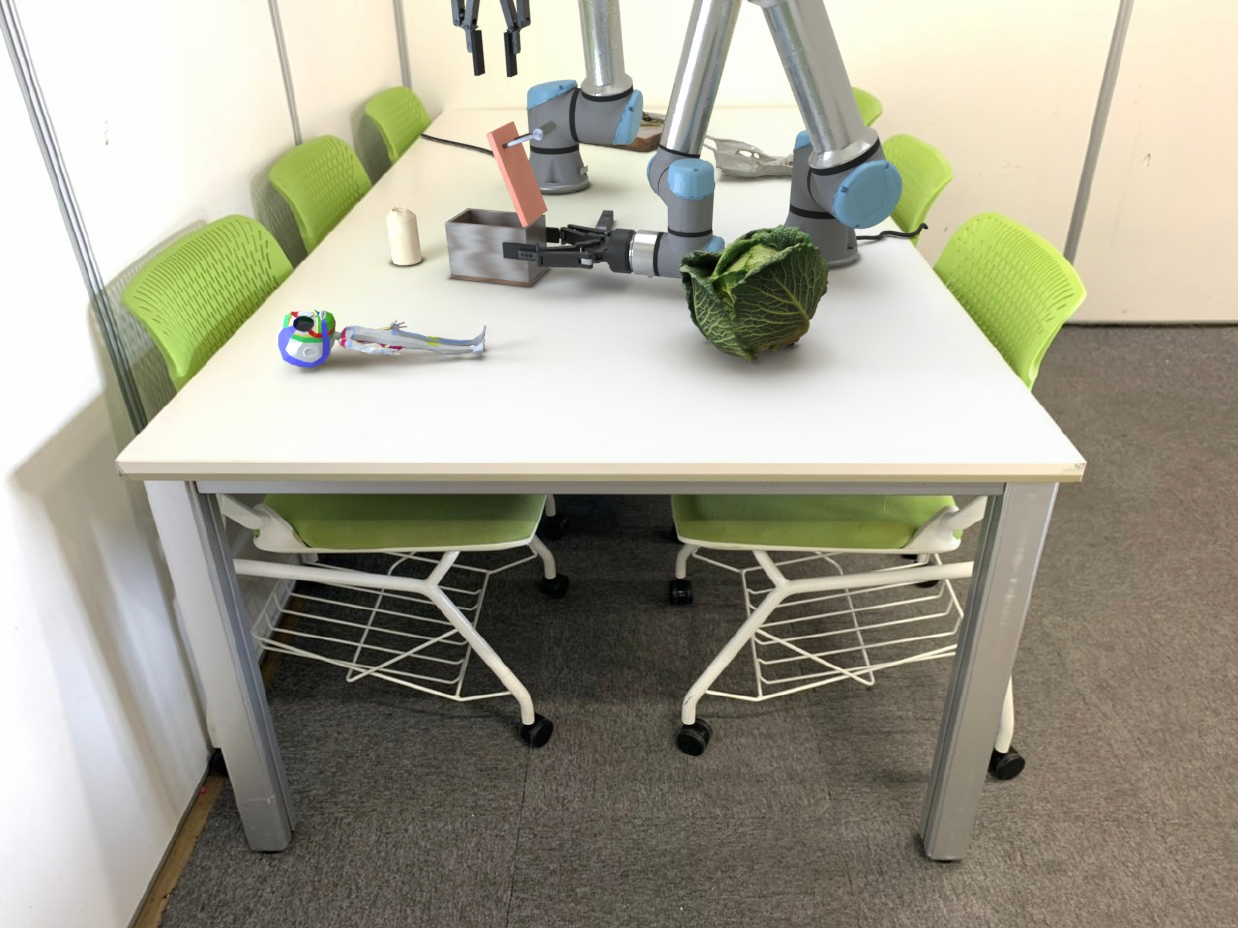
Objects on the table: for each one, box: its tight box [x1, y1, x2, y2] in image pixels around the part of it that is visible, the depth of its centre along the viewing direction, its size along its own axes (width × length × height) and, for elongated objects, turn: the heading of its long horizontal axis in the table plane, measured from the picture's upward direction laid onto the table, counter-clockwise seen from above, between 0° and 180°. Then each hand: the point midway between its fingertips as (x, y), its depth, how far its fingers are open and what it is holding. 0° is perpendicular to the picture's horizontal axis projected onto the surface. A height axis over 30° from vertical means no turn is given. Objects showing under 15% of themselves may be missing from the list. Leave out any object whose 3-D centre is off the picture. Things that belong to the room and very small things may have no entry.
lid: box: [485, 121, 557, 227], centre depth 152 cm, size 16×9×9 cm
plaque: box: [591, 110, 666, 152], centre depth 257 cm, size 30×7×30 cm
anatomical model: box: [703, 134, 794, 178], centre depth 218 cm, size 15×9×25 cm
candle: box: [385, 207, 423, 266], centre depth 169 cm, size 6×6×10 cm
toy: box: [276, 309, 487, 369], centre depth 134 cm, size 10×8×30 cm
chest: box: [444, 207, 549, 288], centre depth 162 cm, size 16×9×10 cm, turn 72°
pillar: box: [594, 209, 615, 230], centre depth 182 cm, size 2×2×20 cm
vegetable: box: [679, 224, 830, 364], centre depth 132 cm, size 20×19×20 cm
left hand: (496, 75), depth 146 cm, fingers open, 5 cm apart
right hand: (514, 241), depth 161 cm, fingers closed on chest, 9 cm apart
